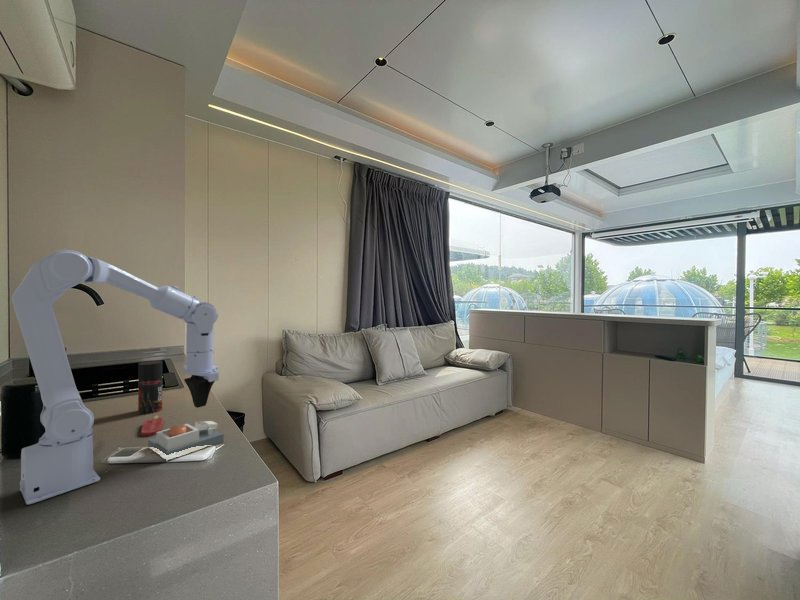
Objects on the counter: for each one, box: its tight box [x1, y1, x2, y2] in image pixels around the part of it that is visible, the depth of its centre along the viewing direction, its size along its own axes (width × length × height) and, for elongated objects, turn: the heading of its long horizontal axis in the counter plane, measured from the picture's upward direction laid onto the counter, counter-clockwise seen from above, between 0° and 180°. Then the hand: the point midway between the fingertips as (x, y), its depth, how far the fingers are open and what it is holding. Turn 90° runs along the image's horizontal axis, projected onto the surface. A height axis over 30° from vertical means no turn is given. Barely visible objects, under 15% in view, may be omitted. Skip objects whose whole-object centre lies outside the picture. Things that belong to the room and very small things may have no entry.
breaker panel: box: [147, 423, 224, 455], centre depth 79 cm, size 12×11×4 cm
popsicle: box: [140, 414, 165, 438], centre depth 90 cm, size 4×2×15 cm
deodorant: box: [137, 360, 163, 415], centre depth 102 cm, size 6×6×15 cm
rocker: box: [194, 420, 219, 430], centre depth 82 cm, size 4×4×1 cm
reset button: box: [169, 424, 186, 437], centre depth 76 cm, size 3×3×3 cm
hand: (200, 406), depth 81 cm, fingers closed
